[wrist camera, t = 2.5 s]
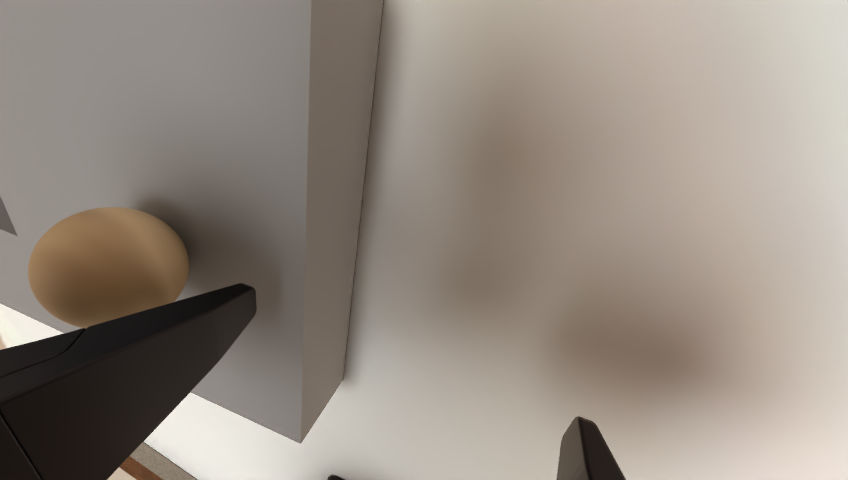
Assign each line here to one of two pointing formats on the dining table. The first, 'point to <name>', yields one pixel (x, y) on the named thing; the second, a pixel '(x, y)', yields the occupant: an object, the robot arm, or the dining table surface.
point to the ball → (107, 265)
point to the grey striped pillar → (149, 467)
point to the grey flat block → (203, 163)
